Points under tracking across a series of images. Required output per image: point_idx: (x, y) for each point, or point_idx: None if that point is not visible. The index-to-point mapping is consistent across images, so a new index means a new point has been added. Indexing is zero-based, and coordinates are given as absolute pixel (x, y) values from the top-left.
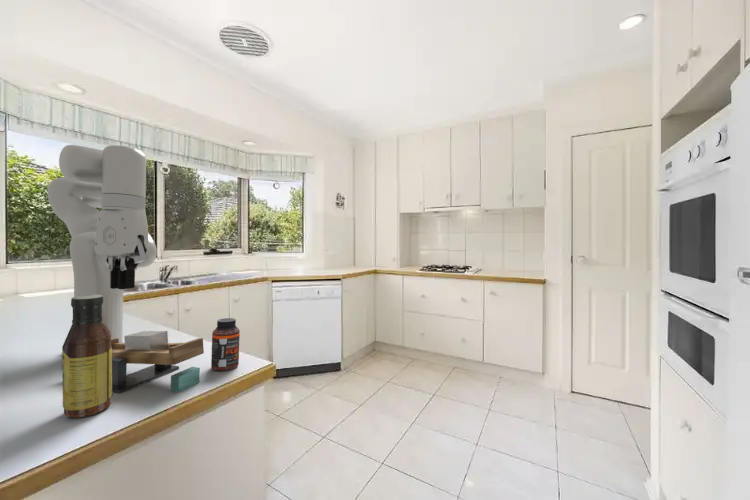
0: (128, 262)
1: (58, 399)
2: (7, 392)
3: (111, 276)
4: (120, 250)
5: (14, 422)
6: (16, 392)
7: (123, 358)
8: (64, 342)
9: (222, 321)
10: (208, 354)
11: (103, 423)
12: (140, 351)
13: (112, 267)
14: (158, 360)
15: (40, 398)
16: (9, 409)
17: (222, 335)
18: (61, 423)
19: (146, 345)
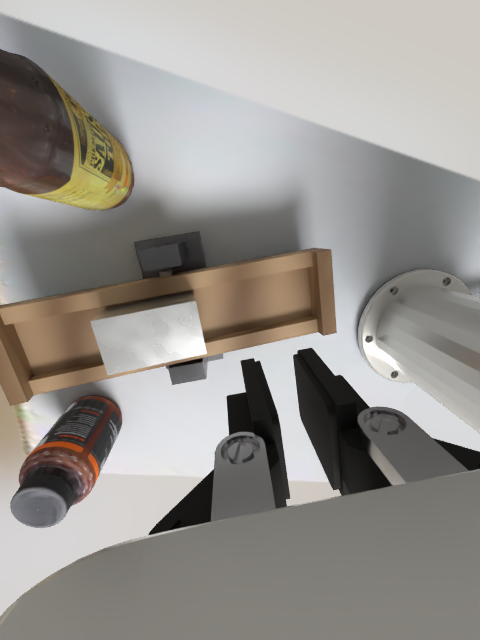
0: (200, 521)
1: (208, 169)
2: (339, 133)
3: (325, 379)
4: (106, 630)
5: (160, 81)
6: (322, 142)
7: (151, 268)
8: (14, 54)
9: (23, 491)
10: (198, 440)
11: None
12: (124, 297)
13: (361, 426)
14: (48, 297)
15: (245, 153)
16: (237, 100)
17: (31, 455)
18: None
19: (111, 311)
